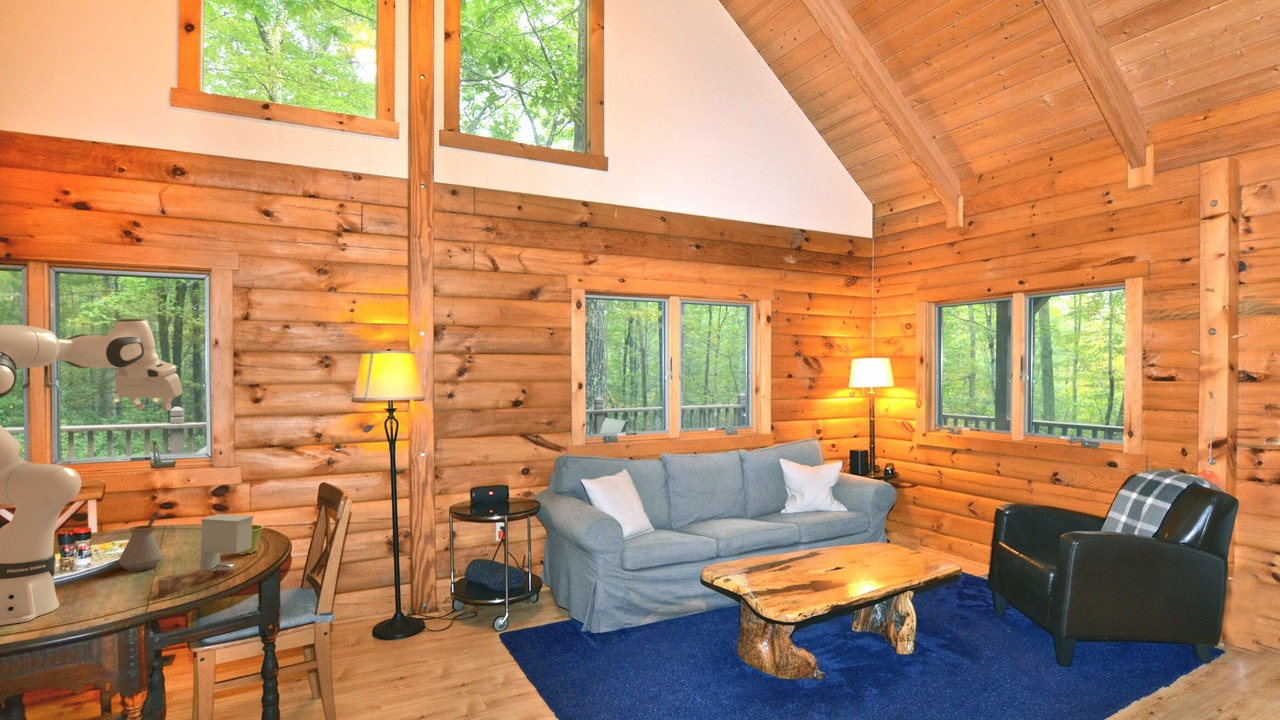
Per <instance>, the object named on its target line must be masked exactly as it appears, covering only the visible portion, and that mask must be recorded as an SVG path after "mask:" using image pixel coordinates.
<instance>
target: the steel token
mask: <svg viewBox="0 0 1280 720" xmlns="http://www.w3.org/2000/svg"><path fill="white" fill-rule="evenodd" d="M233 569H234V570H235V563H234V562H222V563H221V562H220V564H218V565H216V568H215V573H217V572H226V573H228V572H227V571H230V570H233ZM234 570H233V571H234Z"/></svg>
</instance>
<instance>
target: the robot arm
mask: <svg viewBox="0 0 1280 720" xmlns="http://www.w3.org/2000/svg"><path fill="white" fill-rule="evenodd" d="M149 324H150V323H148V321H147V320H145V319H142V318H122V319H119V320H116V323H115V326H114V328H112V330H111V331H110V332H109V333H107V334H105V335H94V334H81V333H80V334H76V335H73V336H70V337H67V338H57V335H56V334H55V333H54V332H53V331H52V330H48V329H45V328H42V327H37V326H32V325H23V324H20V325H19V324H0V399H2V398H5V397H6V396H8V395H9V394H10V393H11V392H12V391H13V389H14V388H15V385H16V384H17V379H18V377H17V375H18V374H17V372H18V371H17V369H28V368H29V369H30V368H40V367H41V368H42V367H46V366H49V365H51V364H52V363H54V362H55V361H59V362H60V361H61V362H65V363H66V364H69V365H71V367H76V368H79V369H89V368H94V369H95V368H96V369H97V368H98V369H116V370H115V371H114V373H113V374H114V381H115V382H114V386H115V390H116V391H115V392H116V395H118V397H121V398H129V400H130V402H131V403H132V404H133V406H134V407H135V409H136V410H137V411H141V410H145V403H144V402H142V401H141V400H140V398H143V399H144V398H149V399H150V398H151V399H163V402H165V403H164V404H163V405H162V410H163V411H171V410H172V402H173V399H175V398H178V397H180V396H181V395H182V394H183V386H182V383H181V380H180V377H179V375H178V373H176V372H177V370H178V369H177V366H176V365H175V364H171V362H170V363H169V362H166V361H164V360H161V359H160V358H159V355H158V353H157V352H156V341H155V337H154V333H153V332H152V329H151V326H150V325H149ZM20 451H21V442H20V441H19V440H18V439H17V438H16V437H14V435H13V434H11V433H10V432H9V431H8V430H7V429H6V428H5V427H4V426H2V424H0V505H9V506H15V509H14V513H13V516H12V518H11V520H10V521H9V522H8V523H6V524H4V525H3V526H2V527H0V626H4V625H12V624H17V623H26V622H28V621H31V620H33V619H35V618H36V617H37V618H38V617H39V616H43V615H46V614H49V613H51V612H53V611H55V610H57V609H58V608H59V607H60V602H59V600H58V596H57V593H56V587H55V579H54V576H55V573H56V567H57V566H56V563H57V558H56V554H55V553H54V550H55V549H54V546H55V545H54V544H55V531H56V526H57V522H58V519H59V517H60V515H61V513H62V511H63V509H64V508H65V507H66V506H67V505H68V504H69V503H70V502H72V501H73V500H75V498H76V497H77V496H78V494H79V493H80V490H81V489H82V488H81V487H82V478H81V475H80V473H78V471H77V470H75V469H73V468H70V467H67V466H63V465H59V464H56V463H55V464H54V463H37V462H36V463H35V462H30V461H27V460H25V459H24V458H22V457H21V456H20V455H19V453H20ZM25 621H26V622H25Z"/></svg>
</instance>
